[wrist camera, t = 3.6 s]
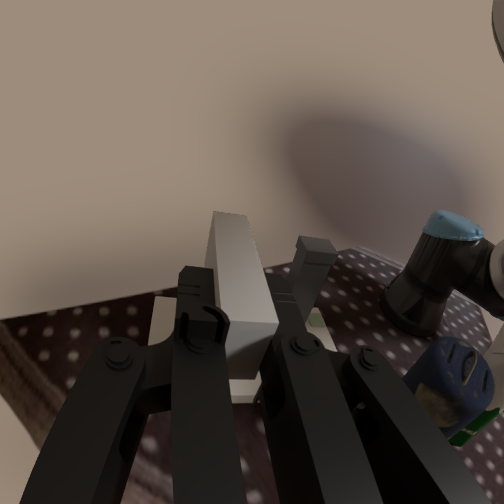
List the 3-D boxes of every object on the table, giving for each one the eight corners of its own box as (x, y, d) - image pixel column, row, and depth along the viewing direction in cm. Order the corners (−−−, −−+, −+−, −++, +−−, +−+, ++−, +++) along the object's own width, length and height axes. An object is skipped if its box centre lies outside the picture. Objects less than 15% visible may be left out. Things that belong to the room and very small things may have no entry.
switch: (300, 309, 44) (328, 239, 38) (306, 326, 41) (338, 254, 35) (273, 308, 43) (299, 235, 37) (278, 325, 40) (307, 250, 34)
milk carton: (425, 437, 28) (524, 341, 18) (433, 395, 35) (510, 301, 25) (463, 453, 24) (560, 366, 14) (467, 412, 31) (544, 326, 21)
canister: (332, 436, 28) (422, 341, 19) (380, 406, 33) (459, 314, 24) (373, 491, 21) (491, 418, 12) (417, 451, 26) (513, 369, 17)
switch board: (313, 316, 47) (318, 306, 46) (345, 394, 34) (353, 386, 33) (155, 305, 41) (155, 294, 40) (144, 397, 28) (142, 388, 27)
